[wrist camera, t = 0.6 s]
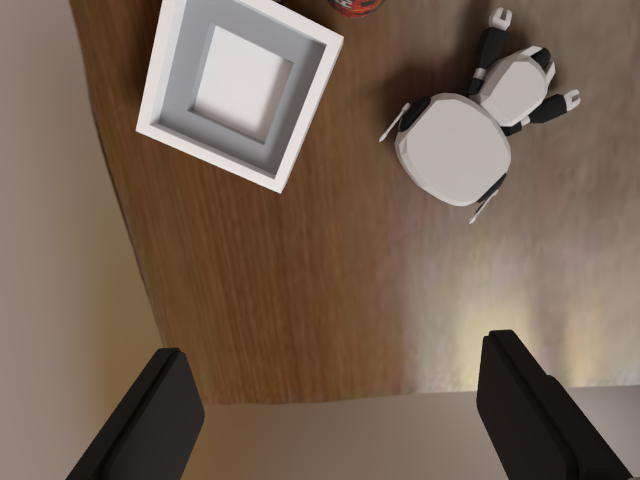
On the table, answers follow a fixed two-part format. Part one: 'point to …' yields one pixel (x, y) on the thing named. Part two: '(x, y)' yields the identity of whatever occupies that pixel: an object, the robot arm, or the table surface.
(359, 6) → the deodorant
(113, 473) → the robot arm
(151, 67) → the housing
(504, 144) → the robot toy
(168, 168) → the table surface
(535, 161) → the table surface
